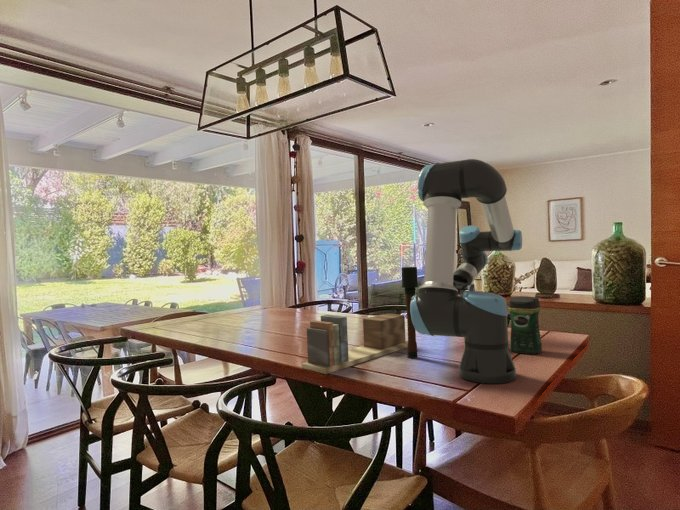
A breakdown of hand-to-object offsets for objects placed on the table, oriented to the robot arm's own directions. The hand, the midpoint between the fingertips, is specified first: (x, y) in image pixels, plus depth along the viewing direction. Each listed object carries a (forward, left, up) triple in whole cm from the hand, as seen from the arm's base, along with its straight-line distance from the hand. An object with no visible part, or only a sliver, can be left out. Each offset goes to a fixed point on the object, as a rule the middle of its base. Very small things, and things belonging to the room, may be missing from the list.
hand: (437, 310), depth 156 cm
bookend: (+4, +19, -12) cm, 23 cm away
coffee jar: (-5, -28, -14) cm, 32 cm away
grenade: (-10, +10, -14) cm, 20 cm away
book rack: (-6, +27, -14) cm, 31 cm away
